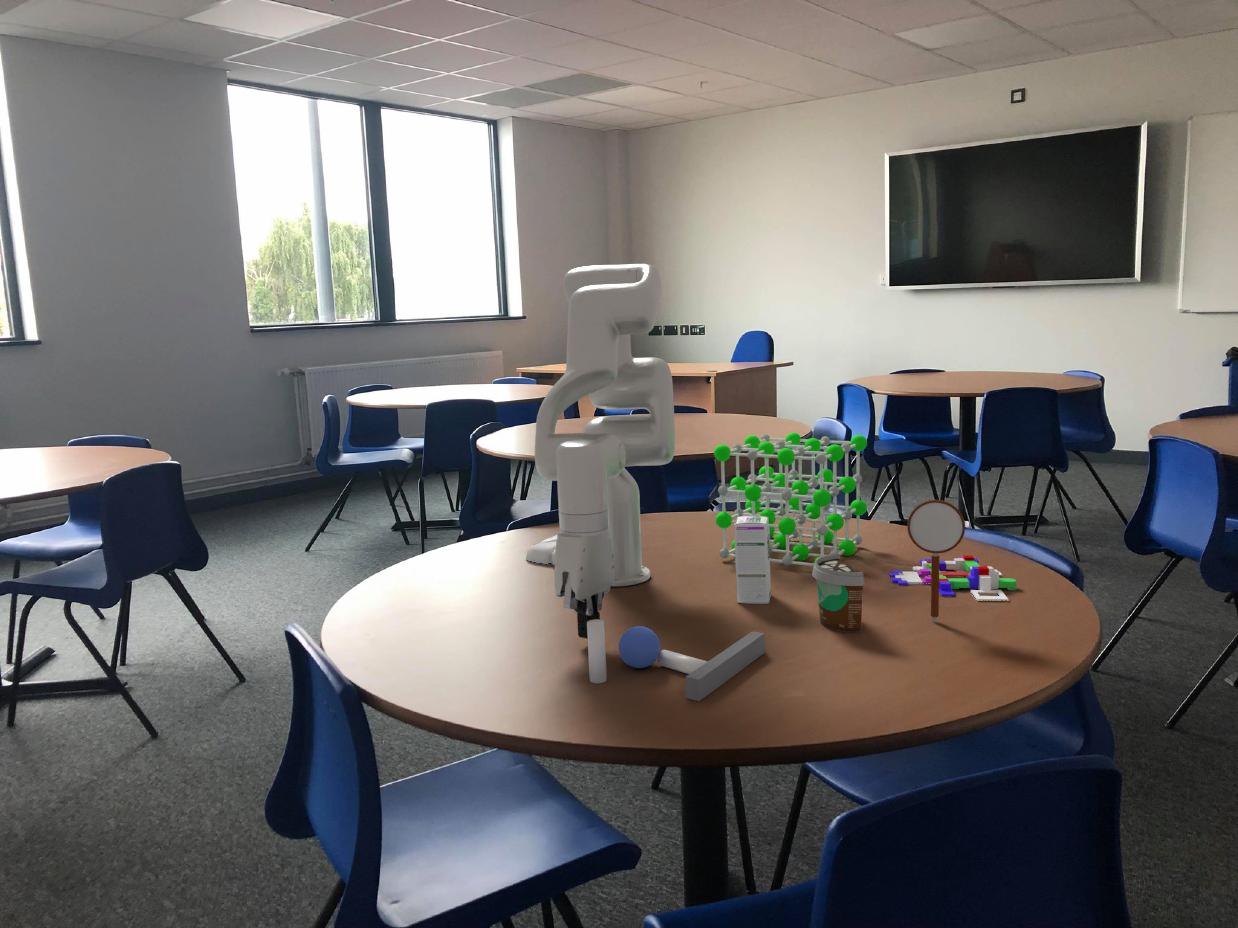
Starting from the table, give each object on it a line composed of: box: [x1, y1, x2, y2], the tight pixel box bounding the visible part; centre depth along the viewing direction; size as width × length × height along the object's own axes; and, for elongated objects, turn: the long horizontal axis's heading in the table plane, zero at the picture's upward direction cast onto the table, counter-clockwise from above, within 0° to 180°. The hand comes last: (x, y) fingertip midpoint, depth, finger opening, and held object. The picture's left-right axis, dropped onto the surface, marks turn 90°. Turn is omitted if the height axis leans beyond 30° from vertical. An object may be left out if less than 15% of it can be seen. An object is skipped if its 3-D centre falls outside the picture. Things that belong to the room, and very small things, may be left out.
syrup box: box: [733, 516, 772, 605], centre depth 164 cm, size 6×6×14 cm
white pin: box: [657, 649, 708, 675], centre depth 133 cm, size 2×2×8 cm
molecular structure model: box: [713, 431, 868, 567], centre depth 192 cm, size 24×25×24 cm
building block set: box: [888, 555, 1017, 602], centre depth 171 cm, size 25×20×4 cm
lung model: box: [525, 534, 558, 566], centre depth 201 cm, size 7×17×25 cm
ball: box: [618, 625, 661, 669], centre depth 135 cm, size 6×6×6 cm
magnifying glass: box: [906, 499, 966, 623], centre depth 148 cm, size 9×2×20 cm, turn 71°
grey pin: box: [587, 619, 608, 684], centre depth 130 cm, size 2×2×8 cm
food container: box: [811, 554, 865, 633], centre depth 150 cm, size 12×6×10 cm, turn 5°
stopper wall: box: [685, 631, 766, 702], centre depth 131 cm, size 2×20×3 cm, turn 146°
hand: (589, 636), depth 144 cm, fingers closed
